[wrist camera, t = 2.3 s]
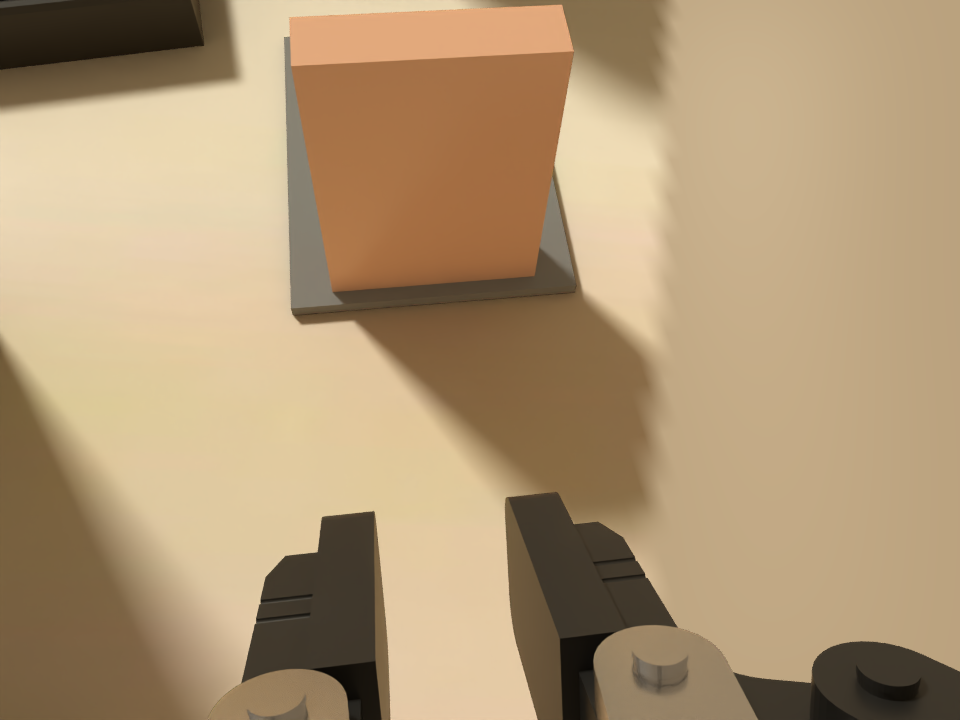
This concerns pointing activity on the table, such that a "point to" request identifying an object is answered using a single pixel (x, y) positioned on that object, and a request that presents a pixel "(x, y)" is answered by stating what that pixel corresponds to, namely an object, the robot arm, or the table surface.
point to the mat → (317, 296)
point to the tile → (431, 139)
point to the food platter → (93, 29)
